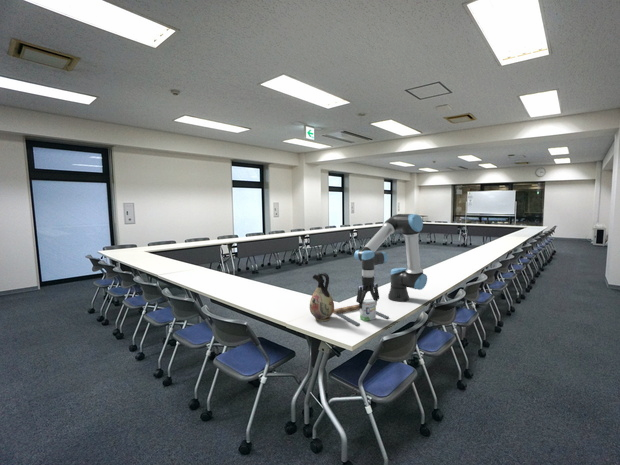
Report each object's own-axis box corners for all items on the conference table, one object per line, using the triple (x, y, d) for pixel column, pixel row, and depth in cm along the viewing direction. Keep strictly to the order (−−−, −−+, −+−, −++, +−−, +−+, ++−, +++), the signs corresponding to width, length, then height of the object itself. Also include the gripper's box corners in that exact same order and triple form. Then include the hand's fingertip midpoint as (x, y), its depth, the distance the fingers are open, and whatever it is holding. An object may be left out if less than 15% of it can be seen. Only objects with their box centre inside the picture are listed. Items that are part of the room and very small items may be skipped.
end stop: (363, 306, 207) (363, 303, 207) (366, 308, 205) (366, 304, 205) (333, 313, 196) (333, 309, 196) (335, 314, 193) (335, 310, 193)
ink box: (371, 316, 188) (371, 298, 187) (376, 319, 183) (376, 300, 182) (359, 318, 185) (359, 300, 184) (364, 321, 180) (364, 302, 179)
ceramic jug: (304, 319, 186) (303, 271, 183) (321, 312, 197) (321, 268, 194) (324, 326, 174) (324, 276, 171) (341, 319, 184) (341, 271, 182)
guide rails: (366, 308, 205) (366, 306, 205) (388, 318, 185) (388, 316, 185) (335, 314, 193) (335, 312, 193) (356, 326, 174) (356, 324, 174)
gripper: (377, 272, 190) (377, 307, 192) (349, 277, 180) (350, 313, 182) (385, 275, 183) (385, 310, 185) (357, 279, 173) (357, 317, 175)
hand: (367, 312), depth 184 cm, fingers closed on ink box, 9 cm apart
